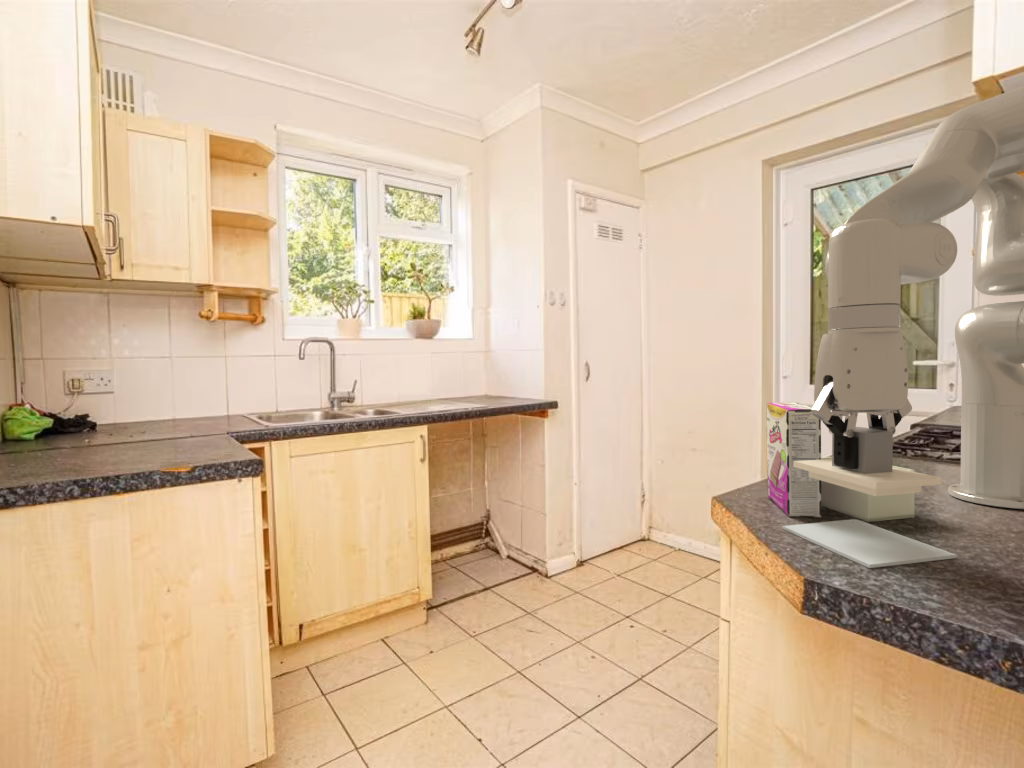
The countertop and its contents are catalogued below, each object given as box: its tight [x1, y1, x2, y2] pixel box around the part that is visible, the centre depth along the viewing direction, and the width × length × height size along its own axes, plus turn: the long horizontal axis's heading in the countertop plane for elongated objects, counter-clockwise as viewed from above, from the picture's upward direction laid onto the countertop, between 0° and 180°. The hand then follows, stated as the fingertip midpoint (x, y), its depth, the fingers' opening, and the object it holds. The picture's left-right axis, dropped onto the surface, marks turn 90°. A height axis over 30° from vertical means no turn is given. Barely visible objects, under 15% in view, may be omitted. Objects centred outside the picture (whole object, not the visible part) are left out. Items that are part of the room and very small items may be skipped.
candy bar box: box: [766, 401, 822, 519], centre depth 81 cm, size 11×5×16 cm, turn 168°
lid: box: [793, 426, 943, 496], centre depth 66 cm, size 9×13×7 cm
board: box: [781, 518, 957, 569], centre depth 66 cm, size 12×14×1 cm
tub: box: [821, 456, 916, 523], centre depth 80 cm, size 8×12×7 cm, turn 11°
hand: (861, 464), depth 66 cm, fingers closed on lid, 4 cm apart
